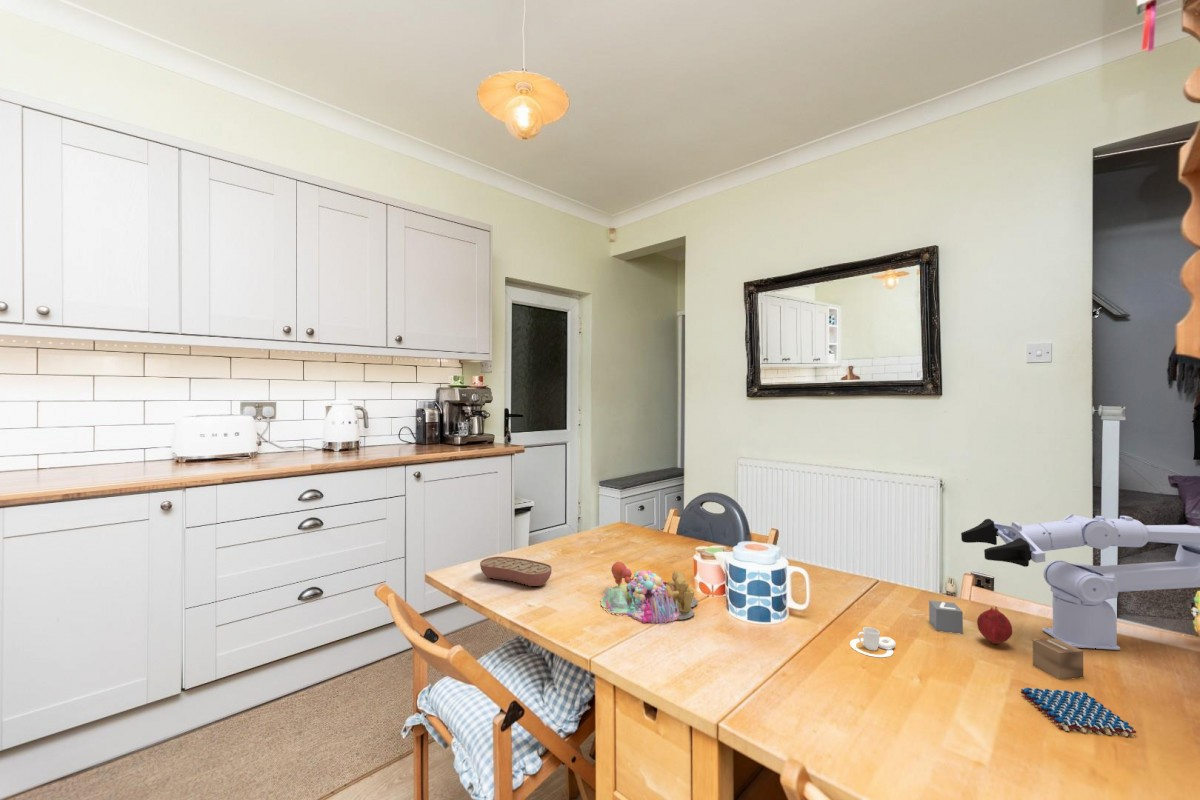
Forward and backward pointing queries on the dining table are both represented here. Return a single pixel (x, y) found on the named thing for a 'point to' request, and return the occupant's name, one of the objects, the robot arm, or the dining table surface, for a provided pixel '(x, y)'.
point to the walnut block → (1058, 658)
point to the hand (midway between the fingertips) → (973, 545)
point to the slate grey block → (946, 616)
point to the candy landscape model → (649, 596)
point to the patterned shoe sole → (516, 570)
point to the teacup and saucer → (873, 642)
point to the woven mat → (1077, 712)
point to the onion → (994, 626)
